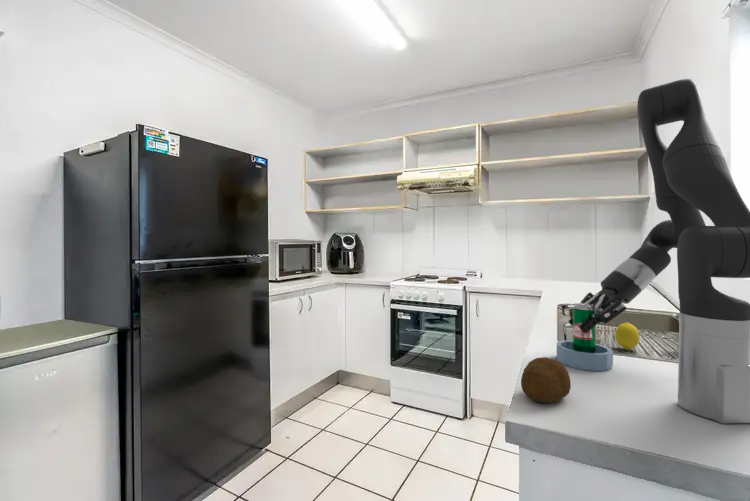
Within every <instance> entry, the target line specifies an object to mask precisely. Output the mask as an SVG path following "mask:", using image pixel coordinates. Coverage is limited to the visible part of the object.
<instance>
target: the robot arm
mask: <svg viewBox="0 0 750 501" xmlns="http://www.w3.org/2000/svg"><path fill="white" fill-rule="evenodd" d="M637 98H638V99H637V116H638V121H639V125H640V130H641V134H642V138H643V142H644V147H645V151H646V154H647V157H648V161H649V163H650V164H649V165H650V168H651V173H652V179H653V185H654V194H655V201H656V207H657V209H659V211H662V212H666V213H668V215H669V217H670V219H666V220H663V221H661V222H658V224H656V225H655V226H654V227H652V229H651V230H650V231H649V232H648V234H647V236H646V237H645V239H644V240H643V242H642V244H641V245H640V247H639V248H637V250H636V251H635V252H633V253H632V254H631V255H630V257H628V258H627V259H626V260H625V261H623V262H621V263H620V264H619V265H617V267H616V268H615V269H614V270H612V271H611V272H610V273H609V274H608V275H607V276H606V277H605V278H604V279H602V280H601V281H600V287H601V290H600V291H598V292H597V293H595V294H593V293H592V292H588V293H587V294H586V295H585V296H584V297H583V298H582V300H580V302H579V303H587V304H593V305H595V306H594V312H593V313H592V314H591V317H590V316H589V317H588V318H587V319H586V320H585V321H584V322H583V323H582V324H580V325H579V328H580V329H581V330H582V331H583V332H584V333H587V332H589V331H590V330H591V329H592V328H593V327H594V326H595V325H596V326H597V324H601V323H603V324H605V325H606V324H608V323H610V321H612V320H613V319H614V318H616V317H617V316H619V315H620V314H621V313H623V312H625V311H626V310H627V307H626V306H625V304H627V305H628V304H629V303H631V302H632V300H634V299H635V298H636V297H637V296H638V295H640V293H641V292H642V291H644V290H645V289H646V288H647V287H648V286H649V285H650V284H651V283H652V282H653V280H655V278H656V277H657V276H658V275H659V274H661V272H663V271H665V269H666V268H667V267H668V266H669V265H670V264H671V262H672V257H671V255H670V254H669V252H670V250H672V249H676V259H677V260H676V262H677V275H678V276H677V281H678V283H677V284H678V288H677V290H678V291H677V292H678V301H679V319H680V322H679V321H678V323H679V325H678V326H679V327H678V330H679V331H678V361H677V362H678V364H677V366H678V368H677V369H678V370H677V371H678V372H677V374H678V375H677V404H678V405H679V407H681V408H682V409H684V410H685V411H687V412H689V413H692V414H694V415H697V416H700V417H703V418H706V419H710V420H713V421H716V422H719V423H720V424H750V303H749V302H748V301H746V300H744V299H739V298H737V297H734V296H730V295H727V294H725V293H723V292H722V291H719V290H718V289H717V288H715V287H714V285H713V282H712V278H723V279H724V278H727V279H750V209H749V208H748V206H747V204H746V203H745V201H744V200H743V198H742V196H741V195H740V192H739V190H738V188H737V186H736V184H735V181H734V179H733V177H732V175H731V172H730V169H729V167H728V163H727V161H726V158H725V156H724V153H723V151H722V149H721V147H720V145H719V144H718V141H717V140H716V137H715V135H714V133H713V130H712V128H711V125H710V123H709V121H708V117H707V114H706V110H705V107H704V104H703V100H702V97H701V92H700V90H699V87H698V85H697V83H696V82H695V81H694V80H693V79H691V78H682V79H677V80H674V81H671V82H667V83H663V84H660V85H657V86H653V87H649V88H646V89H644V90H642V91H640V93H639V95H638V97H637ZM680 121H681V122H683V123H682V126H681V128H680V129H679V131H678V133H677V134H676V136H675V137H674V138H673V139H672V141H671V142H670V144H669V145H668V144H666V143H665V141H663V139H662V137H661V134H660V131H659V126H663V125H667V124H671V123H672V124H673V123H675V122H676V123H678V122H680ZM701 212H702V213H704V214H705V215H706V216H707V217H708V218H709V220H710V221H711V222H712V223H713V225H706V222H705V220H704V218H703V216H702V214H701ZM568 324H569V325H571V327H573V316H572V317H571V318H569V320H568Z"/></svg>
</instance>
